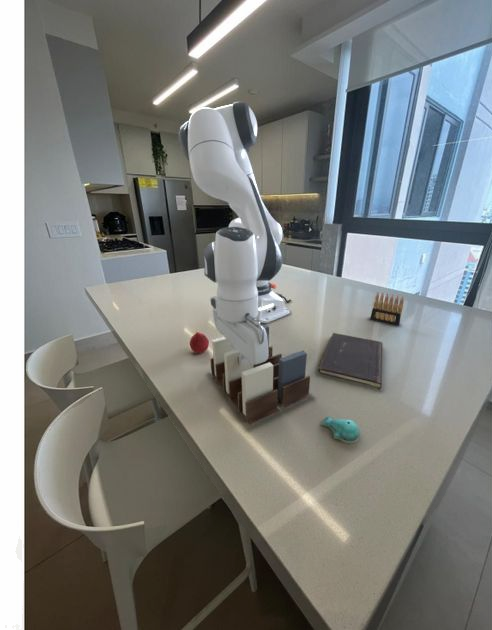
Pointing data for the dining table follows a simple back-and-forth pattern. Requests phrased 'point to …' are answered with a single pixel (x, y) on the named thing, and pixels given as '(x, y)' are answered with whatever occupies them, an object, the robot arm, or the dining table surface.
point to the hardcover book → (354, 359)
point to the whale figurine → (343, 429)
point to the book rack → (268, 401)
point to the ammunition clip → (387, 310)
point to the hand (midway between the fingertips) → (239, 360)
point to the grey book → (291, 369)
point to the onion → (199, 342)
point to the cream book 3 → (256, 382)
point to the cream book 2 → (234, 367)
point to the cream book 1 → (220, 350)
